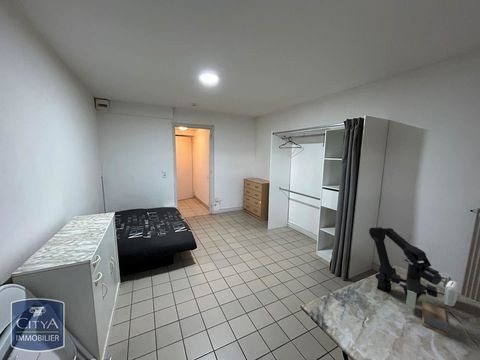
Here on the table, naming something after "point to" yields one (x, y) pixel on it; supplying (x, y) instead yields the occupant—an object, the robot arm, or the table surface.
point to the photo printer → (451, 293)
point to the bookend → (435, 323)
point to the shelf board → (433, 316)
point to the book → (411, 299)
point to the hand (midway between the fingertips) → (411, 298)
